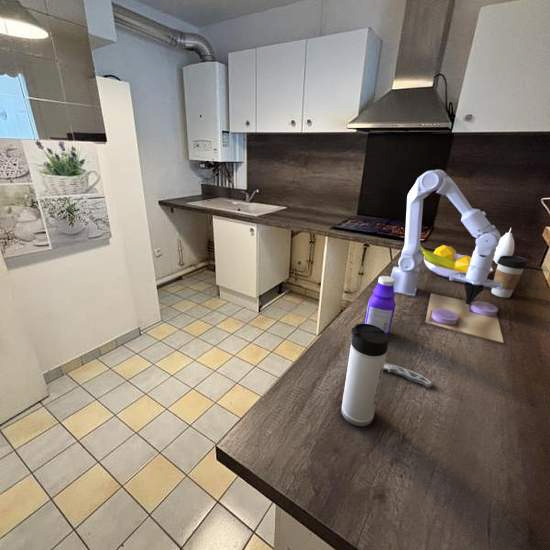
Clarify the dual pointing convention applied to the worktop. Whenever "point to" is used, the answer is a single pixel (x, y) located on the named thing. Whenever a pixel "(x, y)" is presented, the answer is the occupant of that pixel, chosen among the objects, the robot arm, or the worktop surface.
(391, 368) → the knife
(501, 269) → the coffee cup
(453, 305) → the board
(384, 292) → the bottle
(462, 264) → the fruit bowl
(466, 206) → the robot arm
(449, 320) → the saucer
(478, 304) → the saucer
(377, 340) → the travel mug
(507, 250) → the white teardrop shape
